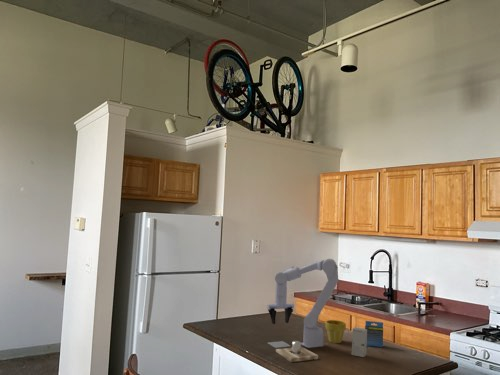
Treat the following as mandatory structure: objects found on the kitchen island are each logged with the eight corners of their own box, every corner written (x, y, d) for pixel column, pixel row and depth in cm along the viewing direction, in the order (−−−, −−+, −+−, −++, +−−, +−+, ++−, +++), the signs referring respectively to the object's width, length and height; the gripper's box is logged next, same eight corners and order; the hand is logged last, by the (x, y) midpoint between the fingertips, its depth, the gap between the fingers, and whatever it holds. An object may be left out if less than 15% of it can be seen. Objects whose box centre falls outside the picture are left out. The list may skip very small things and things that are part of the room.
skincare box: (351, 355, 194) (351, 328, 195) (353, 352, 198) (354, 326, 199) (364, 357, 191) (364, 330, 192) (367, 355, 195) (367, 328, 196)
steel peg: (296, 353, 193) (297, 340, 193) (302, 356, 190) (302, 342, 190) (290, 355, 191) (290, 341, 191) (295, 357, 187) (295, 343, 188)
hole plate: (301, 349, 199) (301, 346, 199) (318, 358, 186) (318, 355, 187) (275, 352, 194) (275, 349, 194) (290, 362, 181) (290, 358, 181)
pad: (282, 342, 211) (282, 341, 211) (291, 347, 203) (291, 346, 203) (266, 343, 208) (266, 342, 208) (275, 348, 200) (275, 347, 200)
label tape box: (382, 345, 212) (383, 320, 214) (383, 347, 209) (383, 322, 210) (364, 343, 215) (365, 319, 216) (364, 345, 211) (365, 320, 212)
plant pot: (345, 345, 210) (346, 325, 211) (324, 343, 213) (325, 323, 213) (345, 339, 221) (345, 320, 221) (325, 338, 223) (325, 319, 224)
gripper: (289, 294, 220) (288, 320, 219) (264, 295, 214) (263, 322, 213) (296, 296, 213) (295, 323, 212) (271, 297, 208) (270, 325, 206)
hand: (280, 323), depth 212 cm, fingers open, 7 cm apart
